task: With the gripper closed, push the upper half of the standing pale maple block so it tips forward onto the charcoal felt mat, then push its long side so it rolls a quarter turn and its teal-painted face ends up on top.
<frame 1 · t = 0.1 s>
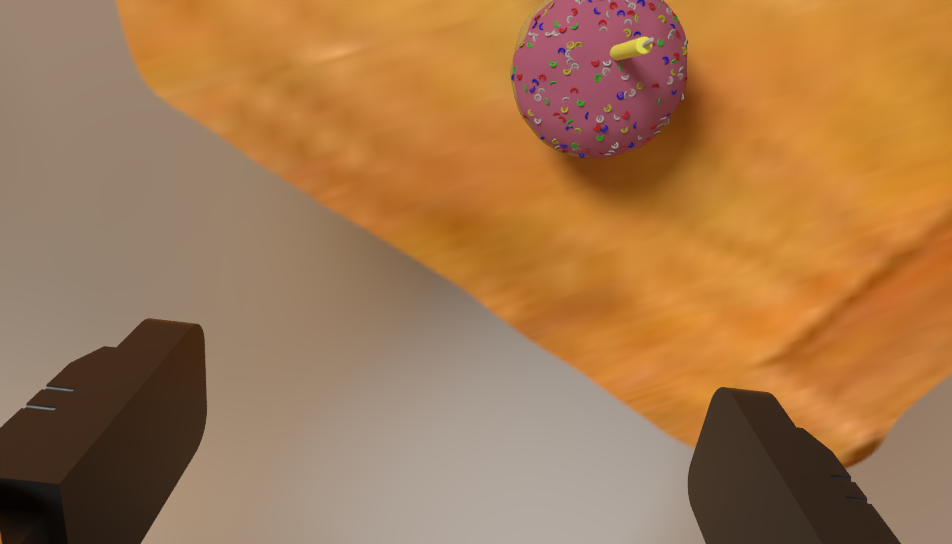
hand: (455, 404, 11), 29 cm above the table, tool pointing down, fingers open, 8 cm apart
cupcake: (585, 61, 37), on the table
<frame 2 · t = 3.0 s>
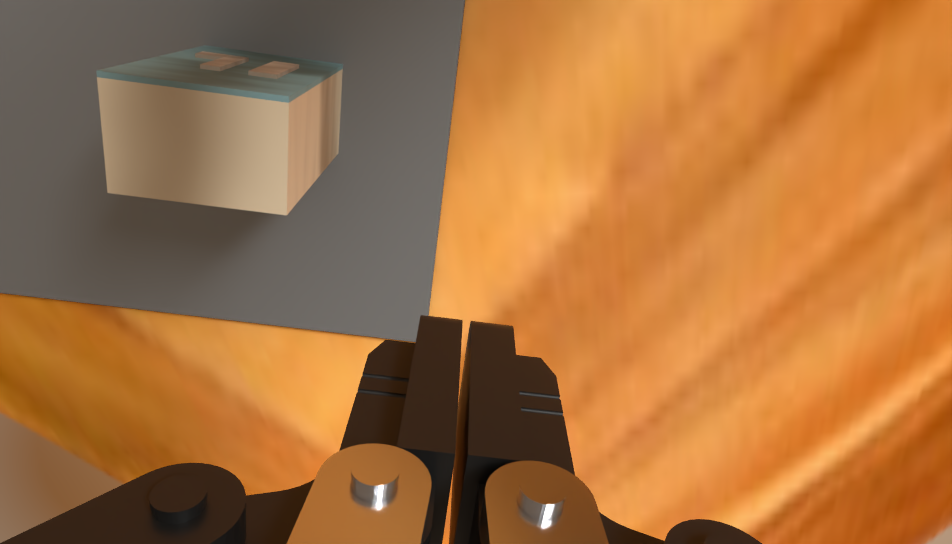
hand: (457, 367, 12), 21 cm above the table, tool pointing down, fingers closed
mat: (210, 134, 31), on the table
block: (273, 100, 30), resting on mat
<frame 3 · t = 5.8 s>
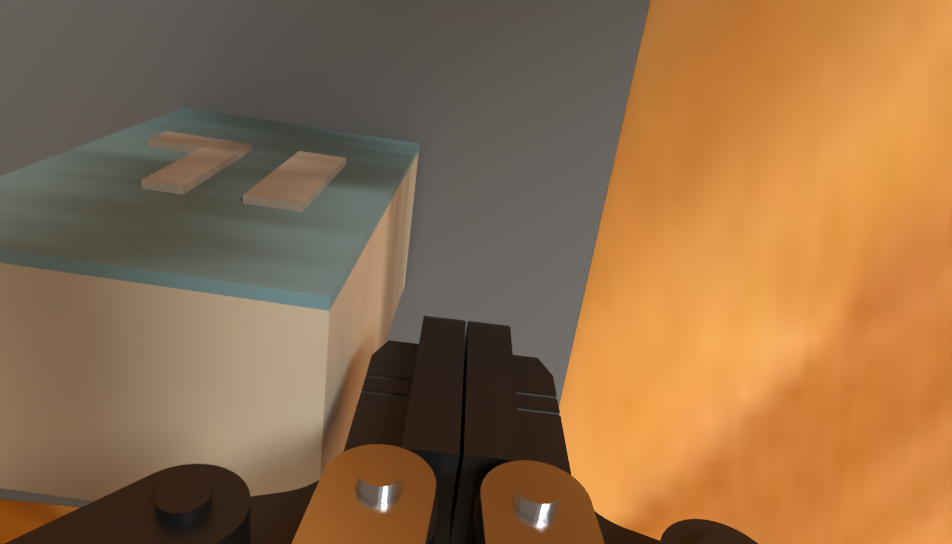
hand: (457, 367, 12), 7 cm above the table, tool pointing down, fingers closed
mat: (191, 250, 19), on the table
block: (298, 201, 18), resting on mat, touching gripper
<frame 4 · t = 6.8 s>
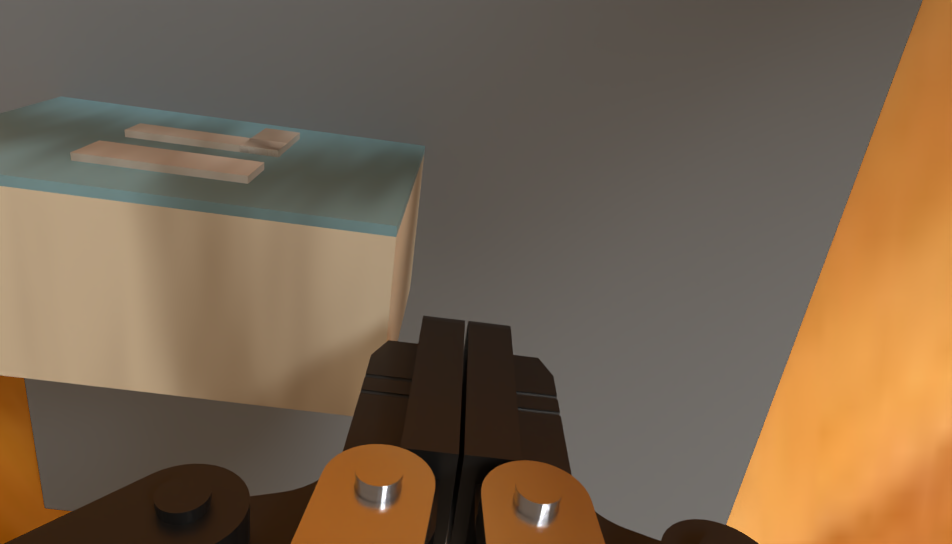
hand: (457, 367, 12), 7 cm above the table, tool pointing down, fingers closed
mat: (410, 283, 19), on the table
block: (405, 264, 15), point 3 cm above the table, tilted 90°, touching mat
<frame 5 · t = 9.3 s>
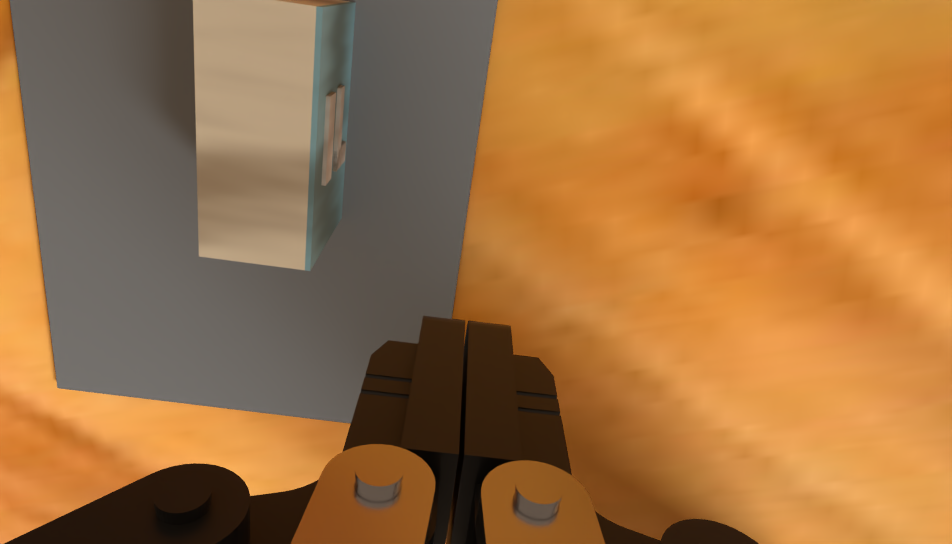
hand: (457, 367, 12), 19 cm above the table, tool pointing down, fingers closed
mat: (253, 203, 30), on the table
block: (277, 235, 27), point 3 cm above the table, tilted 90°, touching mat
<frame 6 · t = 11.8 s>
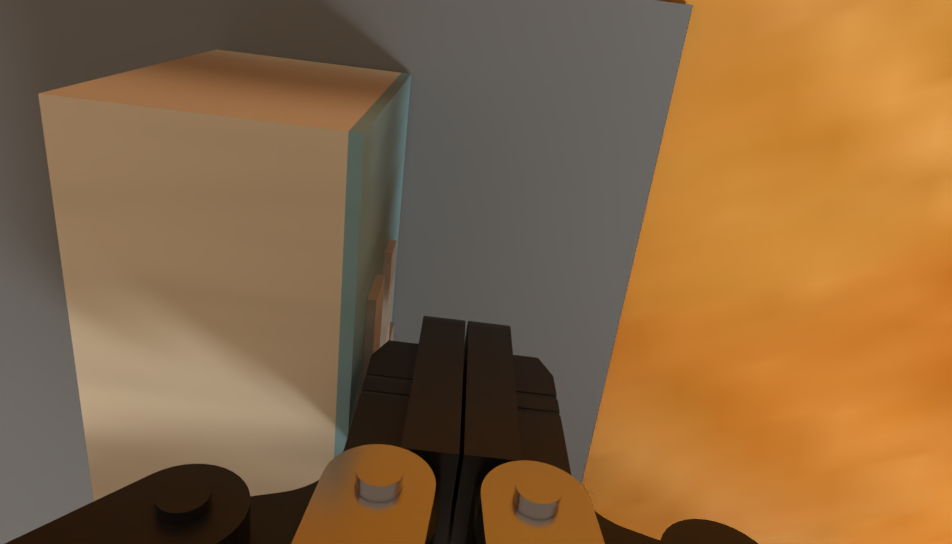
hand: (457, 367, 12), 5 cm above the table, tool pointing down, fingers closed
mat: (232, 406, 18), on the table
block: (272, 503, 15), point 3 cm above the table, tilted 90°, touching gripper, mat
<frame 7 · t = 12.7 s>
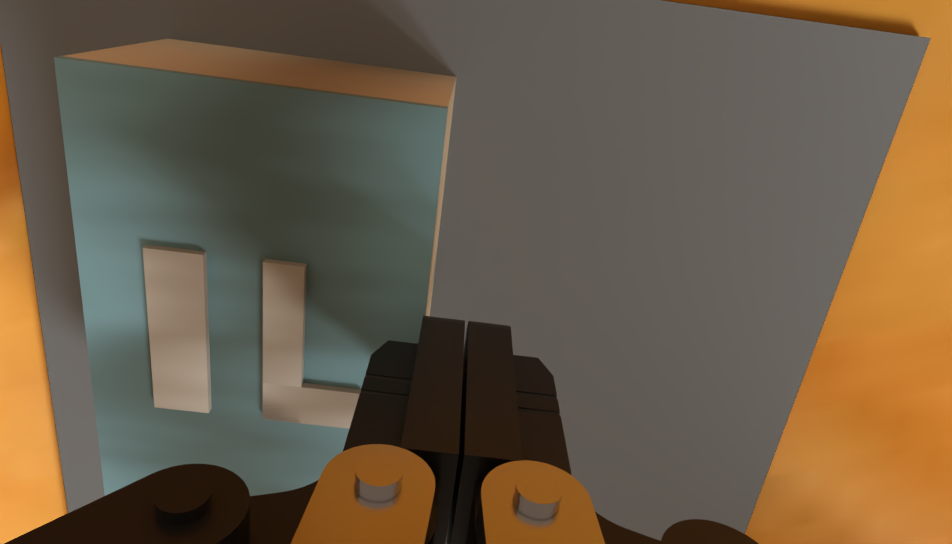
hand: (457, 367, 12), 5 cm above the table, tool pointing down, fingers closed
mat: (419, 421, 18), on the table
block: (281, 465, 16), point 2 cm above the table, tilted 90°, touching mat
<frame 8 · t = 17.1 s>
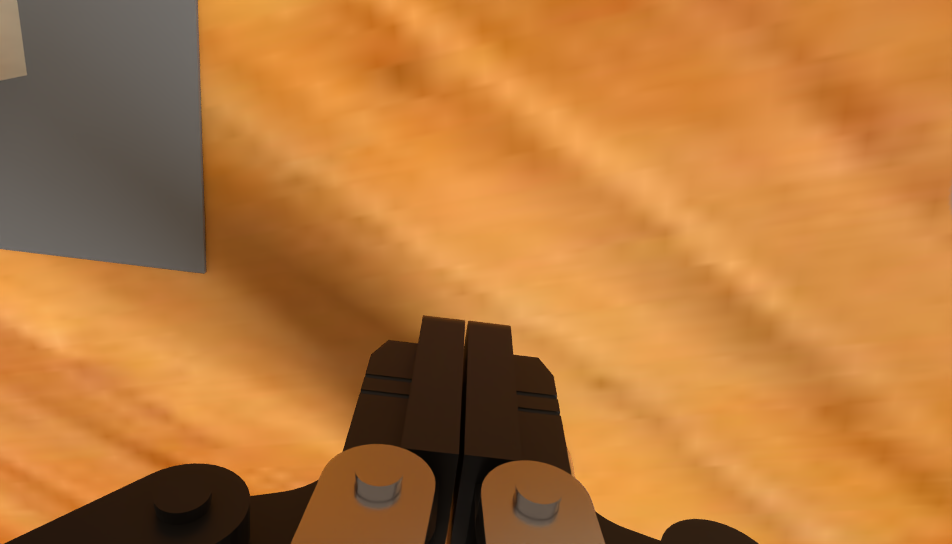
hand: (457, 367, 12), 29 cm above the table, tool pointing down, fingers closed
mat: (30, 74, 38), on the table
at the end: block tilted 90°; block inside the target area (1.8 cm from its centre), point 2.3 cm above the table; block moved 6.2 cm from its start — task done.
